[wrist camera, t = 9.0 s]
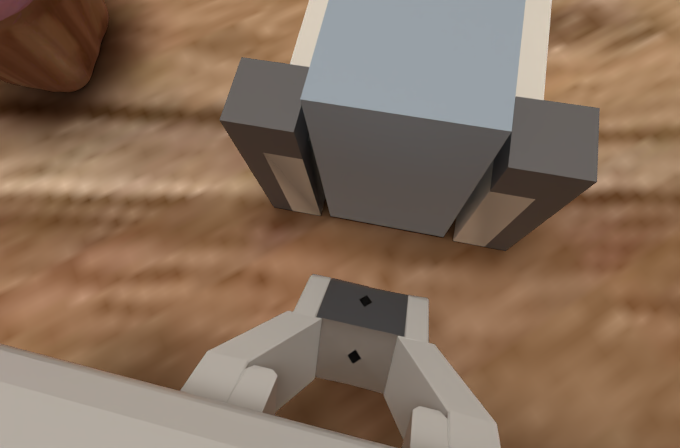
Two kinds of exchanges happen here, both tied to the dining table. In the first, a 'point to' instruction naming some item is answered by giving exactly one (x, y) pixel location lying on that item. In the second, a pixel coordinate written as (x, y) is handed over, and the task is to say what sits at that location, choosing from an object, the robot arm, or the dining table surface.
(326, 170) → the grey rectangular box
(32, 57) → the cupcake
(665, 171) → the dining table surface
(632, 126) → the dining table surface
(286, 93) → the frame
